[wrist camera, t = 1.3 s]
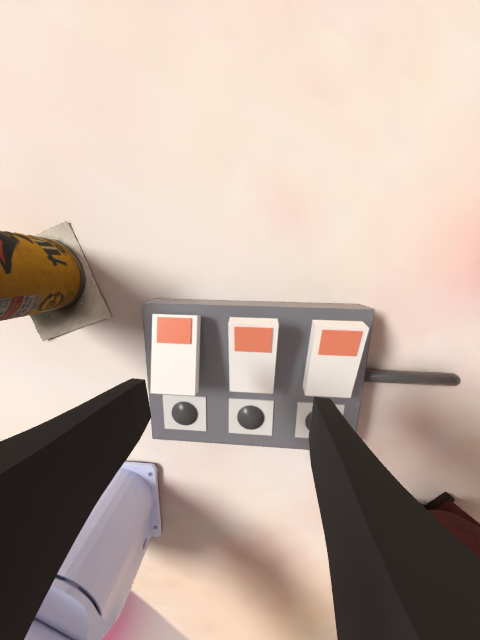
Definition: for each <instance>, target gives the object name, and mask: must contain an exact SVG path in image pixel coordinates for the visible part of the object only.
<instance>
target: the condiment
mask: <svg viewBox="0 0 480 640" xmlns="http://www.w3.org/2000/svg"><path fill="white" fill-rule="evenodd" d="M82 297H83V298H84V299H83V300H82V299H81V298H82ZM82 301H83V304H82V305H81V302H82ZM27 315H30V317H31V318H32V320H33V322H34V324H35V327H36V329H37V332H38V333H39V335H40V337H41V339H42V340H43V341H45V340H47V339H50V338H53V337H56V336H59V335H62V334H64V333H67V332H70V331H73V330H76V329H78V328H81V327H83V326H87V325H90V324H93V323H95V322H98V321H101V320H104V319H107V318H109V317H112V316H111V314H110V312H109V310H108V308H107V306H106V303H105V301H104V299H103V298H102V296H101V293H100V291H99V288H98V286H97V285H96V282H95V279H94V278H93V275H92V273H91V270H90V268H89V265H88V263H87V261H86V259H85V257H84V255H83V252H82V250H81V248H80V246H79V244H78V242H77V240H76V238H75V235H74V233H73V231H72V229H71V227H70V225H69V224H68V222H67V221H65V222H63V223H61V224H58V225H56V226H54V227H52V228H50V229H48V230H46V231H44V232H41V233H39V234H37V235H35V236H32V235H23V234H20V233H10V232H7V231H5V232H3V231H0V321H2V320H7V319H12V318H17V317H24V316H27Z"/></svg>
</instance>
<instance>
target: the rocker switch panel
mask: <svg viewBox="0 0 480 640" xmlns="http://www.w3.org/2000/svg"><path fill="white" fill-rule="evenodd" d="M374 310H375V309H372V308H369V307H366V306H363V305H360V304H338V303H301V302H265V301H228V300H191V299H153V300H149V301H146V302H143V303H142V313H143V325H144V338H145V350H146V363H147V375H148V388H149V400H150V412H151V425H152V437H153V439H163V440H178V441H192V442H206V443H220V444H234V445H249V446H263V447H277V448H291V449H306V450H310V448H309V430H310V422H311V414H312V407H313V399H314V397H321V398H330V399H331V400H332V401H333V403H334V404H335V405H336V407H337V408H338V409H339V411H340V412H341V413H342V415H343V416H344V417H345V419H346V420H347V421H348V423H349V424H350V425H351V427H352V428H353V429H354V431H355V432H356V428H357V422H358V415H359V409H360V402H361V396H362V389H363V382H364V381H366V382H386V383H406V384H427V385H447V386H456V385H458V384H459V383H460V378H459V377H458V376H457V375H456V374H452V373H433V372H411V371H389V370H368V369H366V363H367V356H368V350H369V343H370V336H371V330H372V323H373V317H374ZM152 314H169V315H200V316H201V324H200V358H199V391H198V392H197V394H196V395H195V396H190V395H173V394H155V393H150V389H151V350H152ZM230 317H243V318H274V319H278V324H279V328H278V340H277V352H276V365H275V377H274V389H273V394H268V393H249V392H231V391H230V383H229V339H228V322H229V319H230ZM312 320H336V321H363V322H364V323H365V324H366V325H367V326H368V327H369V331H368V335H367V339H366V342H365V346H364V350H363V353H362V357H361V361H360V365H359V368H358V372H357V376H356V379H355V383H354V387H353V390H352V394H351V398H341V397H323V396H305V393H304V390H303V380H304V374H305V367H306V360H307V354H308V347H309V340H310V334H311V327H312Z"/></svg>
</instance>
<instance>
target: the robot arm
mask: <svg viewBox="0 0 480 640" xmlns="http://www.w3.org/2000/svg"><path fill="white" fill-rule="evenodd" d="M150 418H151V412H150V406H149V400H148V395H147V389H146V383H145V380H142V379H133V378H132V379H130V380H128V381H126V382H123V383H121V384H119V385H117V386H115V387H114V388H112V389H110V390H108V391H106V392H104V393H102V394H100V395H98V396H96V397H94V398H93V399H91V400H89V401H87V402H85V403H83V404H81V405H79V406H77V407H75V408H73V409H71V410H69V411H67V412H65V413H63V414H61V415H59V416H57V417H55V418H53V419H51V420H49V421H47V422H44V423H42V424H40V425H38V426H36V427H33V428H31V429H29V430H27V431H24V432H22V433H20V434H17V435H15V436H13V437H10V438H8V439H5V440H3V441H0V640H102V638H103V637H104V636H105V635H106V634H107V632H108V631H109V630H110V629H111V627H112V626H113V625H114V623H115V622H116V620H117V619H118V617H119V615H120V613H121V611H122V609H123V607H124V604H125V602H126V599H127V597H128V594H129V592H130V589H131V587H132V584H133V581H134V579H135V576H136V574H137V571H138V569H139V566H140V564H141V561H142V559H143V556H144V554H145V551H146V548H147V546H148V543H149V541H150V538H151V537H156V538H157V537H160V535H161V532H162V530H161V517H160V504H159V492H158V479H157V467H156V466H155V465H154V464H151V463H139V462H126V459H127V458H128V456H129V455H130V453H131V452H132V450H133V449H134V447H135V446H136V444H137V443H138V441H139V440H140V438H141V436H142V434H143V432H144V430H145V428H146V426H147V424H148V422H149V420H150ZM309 448H310V459H311V467H312V472H313V477H314V483H315V488H316V493H317V498H318V503H319V508H320V513H321V519H322V524H323V529H324V534H325V540H326V546H327V552H328V559H329V568H330V576H331V584H332V593H333V602H334V611H335V620H336V629H337V638H338V640H480V559H479V558H478V557H477V556H476V555H475V554H474V553H473V552H472V551H470V550H469V549H468V548H467V547H466V546H465V545H464V544H463V543H462V542H461V541H459V540H458V539H457V538H456V537H455V536H454V535H453V534H452V533H451V532H449V531H448V530H447V529H446V528H445V527H444V526H443V525H442V524H441V523H440V522H439V521H438V520H437V519H435V518H434V517H433V516H432V515H431V514H430V513H429V512H428V511H427V510H426V509H425V508H424V507H423V506H422V505H421V504H420V503H419V502H418V501H417V500H416V499H415V498H414V497H413V496H412V495H411V494H410V493H409V492H408V491H407V490H406V489H405V488H404V487H403V486H402V485H401V484H400V483H399V482H398V481H397V479H396V478H395V477H394V476H393V475H392V474H391V473H390V472H389V471H388V470H387V468H386V467H385V466H384V465H383V464H382V463H381V462H380V461H379V460H378V458H377V457H376V456H375V455H374V454H373V453H372V451H371V450H370V449H369V448H368V447H367V445H366V444H365V443H364V442H363V440H362V439H361V438H360V437H359V436H358V434H357V433H356V432H355V431H354V429H353V428H352V427H351V425H350V424H349V423H348V421H347V420H346V419H345V417H344V416H343V415H342V413H341V412H340V411H339V409H338V408H337V407H336V405H335V404H334V403H333V401H332V400H331V399H330V398H321V397H314V399H313V407H312V414H311V422H310V430H309Z"/></svg>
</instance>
